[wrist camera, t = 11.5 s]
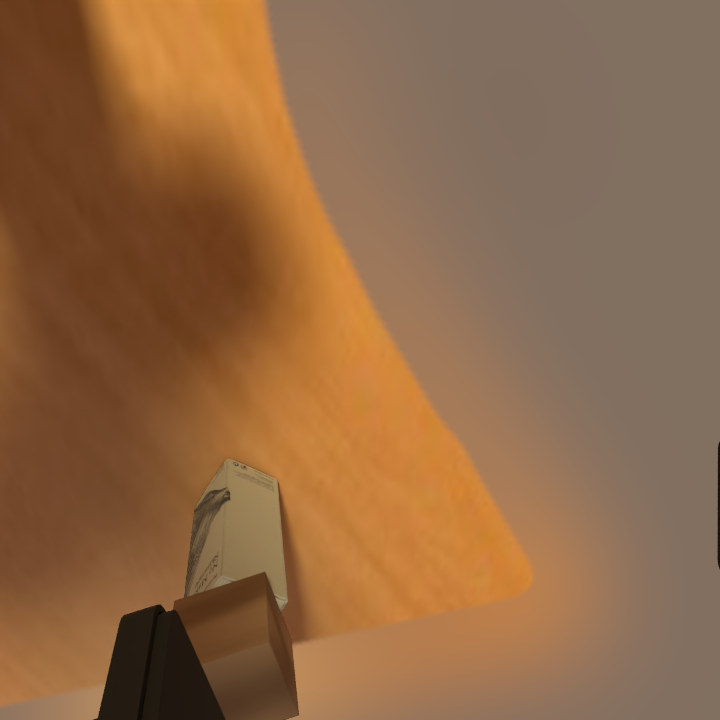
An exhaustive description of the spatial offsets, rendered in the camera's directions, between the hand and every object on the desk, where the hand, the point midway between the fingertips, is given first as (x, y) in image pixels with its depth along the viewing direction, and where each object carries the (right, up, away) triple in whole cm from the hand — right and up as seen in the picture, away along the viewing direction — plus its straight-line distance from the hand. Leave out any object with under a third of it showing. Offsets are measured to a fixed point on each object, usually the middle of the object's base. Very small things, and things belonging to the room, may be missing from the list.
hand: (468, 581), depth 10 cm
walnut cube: (-9, -11, +24) cm, 28 cm away
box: (-11, -6, +36) cm, 38 cm away
